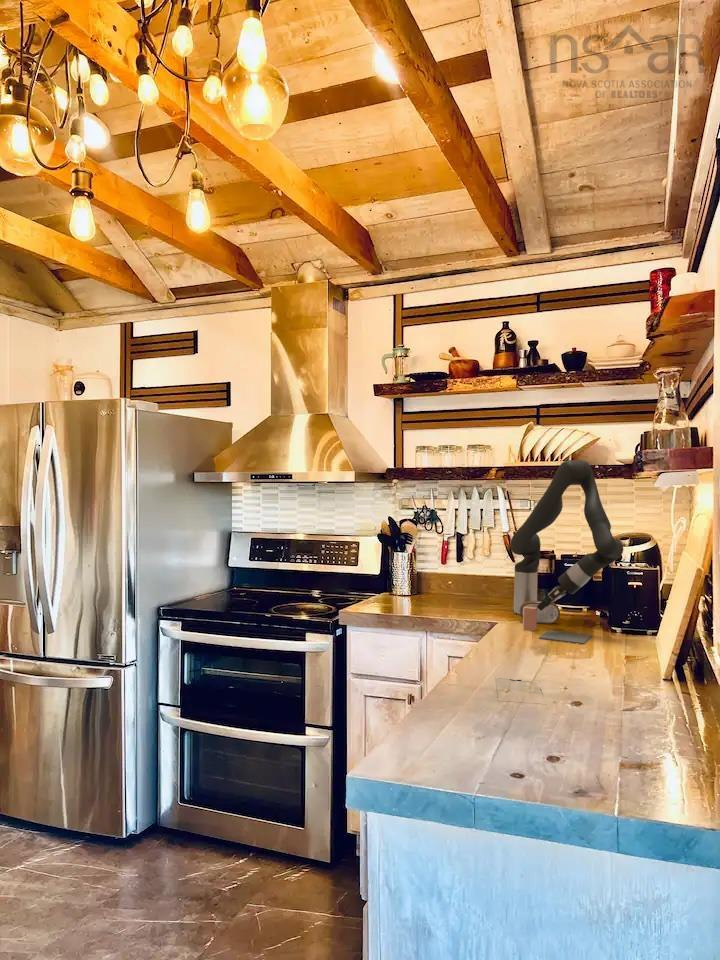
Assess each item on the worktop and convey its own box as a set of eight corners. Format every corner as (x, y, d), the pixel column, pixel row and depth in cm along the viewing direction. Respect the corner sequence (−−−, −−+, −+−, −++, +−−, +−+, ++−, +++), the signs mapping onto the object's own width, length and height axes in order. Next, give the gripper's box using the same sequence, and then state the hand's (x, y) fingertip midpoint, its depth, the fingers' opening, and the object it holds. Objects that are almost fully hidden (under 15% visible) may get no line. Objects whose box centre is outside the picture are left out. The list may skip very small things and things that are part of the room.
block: (525, 628, 253) (525, 606, 253) (536, 629, 251) (537, 607, 251) (522, 629, 251) (523, 607, 251) (534, 631, 249) (535, 609, 249)
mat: (548, 631, 249) (548, 629, 249) (591, 636, 242) (591, 635, 242) (539, 638, 236) (539, 637, 236) (583, 644, 229) (584, 643, 229)
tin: (558, 623, 264) (559, 601, 264) (560, 624, 261) (561, 602, 261) (519, 621, 266) (519, 599, 266) (520, 623, 262) (520, 601, 262)
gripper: (571, 568, 251) (539, 596, 257) (563, 572, 239) (529, 601, 244) (586, 583, 249) (553, 611, 254) (578, 588, 236) (544, 618, 242)
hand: (541, 606), depth 249 cm, fingers open, 8 cm apart
